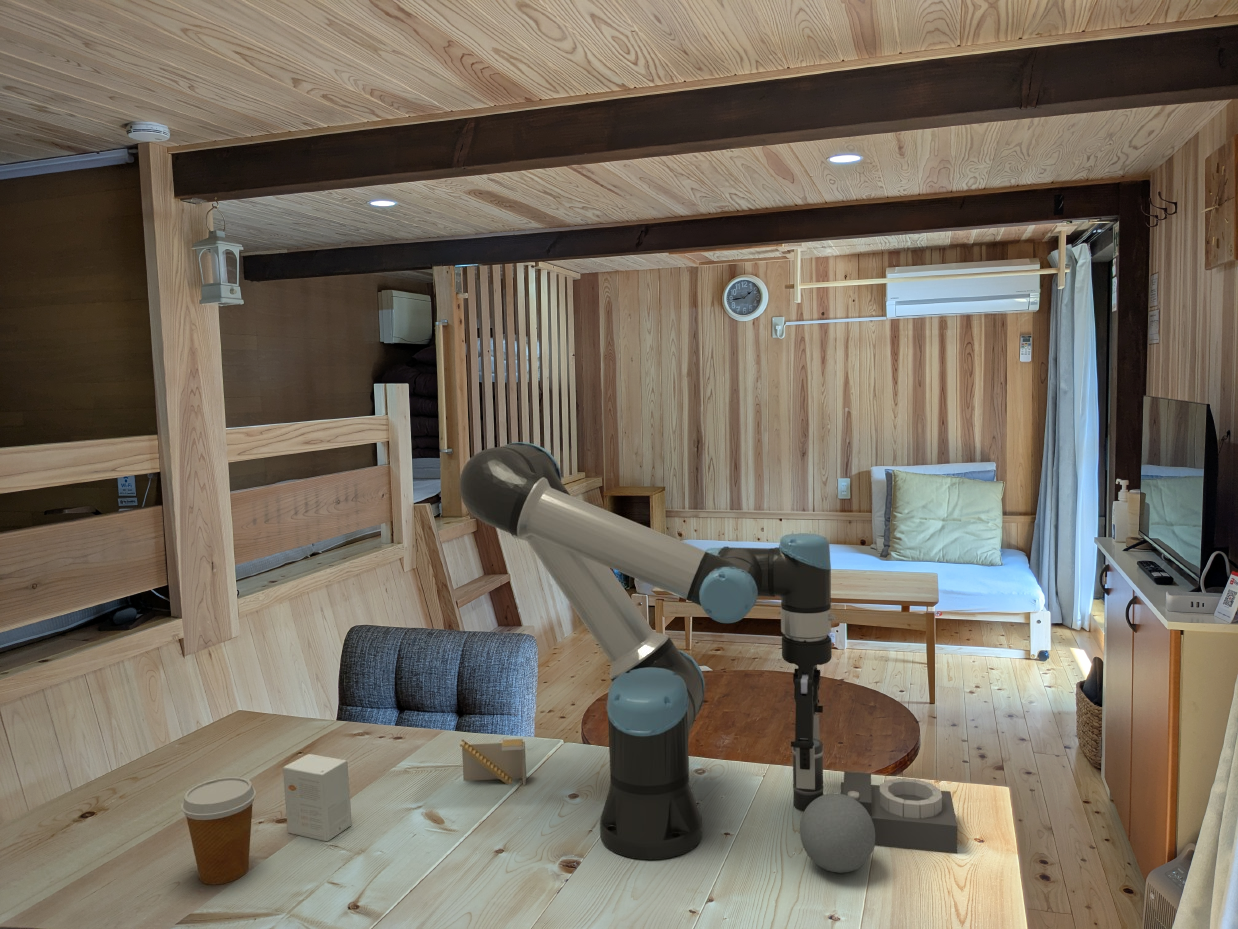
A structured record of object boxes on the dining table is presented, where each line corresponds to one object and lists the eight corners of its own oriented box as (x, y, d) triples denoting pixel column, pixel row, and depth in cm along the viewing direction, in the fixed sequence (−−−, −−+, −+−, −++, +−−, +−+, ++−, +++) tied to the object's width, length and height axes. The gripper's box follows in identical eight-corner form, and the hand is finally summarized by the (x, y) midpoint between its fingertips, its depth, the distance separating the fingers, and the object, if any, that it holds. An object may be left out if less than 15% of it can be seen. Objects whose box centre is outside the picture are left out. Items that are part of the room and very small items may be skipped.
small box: (352, 826, 140) (349, 760, 139) (327, 843, 135) (322, 774, 134) (313, 817, 143) (309, 752, 142) (286, 833, 138) (282, 766, 137)
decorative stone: (813, 843, 131) (813, 775, 130) (883, 859, 126) (883, 790, 125) (789, 876, 122) (788, 804, 121) (863, 895, 117) (863, 820, 116)
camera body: (839, 841, 131) (838, 797, 130) (841, 807, 141) (840, 766, 141) (957, 853, 127) (957, 808, 126) (950, 817, 137) (950, 774, 137)
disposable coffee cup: (214, 898, 121) (208, 812, 120) (172, 880, 126) (166, 796, 125) (275, 865, 129) (269, 784, 128) (233, 849, 134) (227, 770, 133)
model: (525, 787, 153) (523, 743, 152) (461, 790, 152) (459, 746, 152) (526, 779, 156) (524, 736, 155) (463, 782, 155) (461, 738, 155)
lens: (791, 811, 141) (791, 747, 140) (794, 797, 145) (793, 736, 144) (823, 814, 139) (822, 749, 138) (824, 800, 144) (823, 738, 143)
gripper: (828, 659, 127) (829, 807, 129) (834, 615, 151) (835, 741, 152) (773, 657, 129) (776, 802, 131) (788, 614, 153) (790, 738, 154)
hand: (808, 770), depth 142 cm, fingers open, 12 cm apart
